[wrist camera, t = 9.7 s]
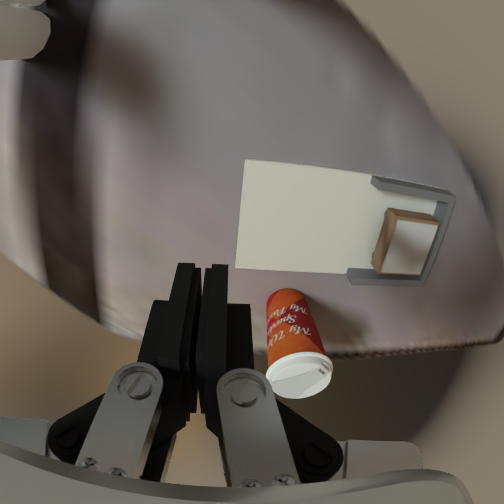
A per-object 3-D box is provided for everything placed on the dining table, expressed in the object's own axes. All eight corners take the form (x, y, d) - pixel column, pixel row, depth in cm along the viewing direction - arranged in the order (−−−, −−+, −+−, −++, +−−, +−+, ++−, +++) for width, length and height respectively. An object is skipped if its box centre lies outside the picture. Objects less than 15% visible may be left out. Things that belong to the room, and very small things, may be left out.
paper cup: (293, 272, 42) (313, 351, 30) (321, 305, 45) (346, 381, 33) (247, 302, 44) (251, 383, 32) (278, 331, 47) (290, 408, 35)
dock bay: (245, 158, 34) (245, 165, 31) (444, 188, 36) (456, 196, 34) (235, 265, 41) (235, 279, 38) (414, 274, 43) (423, 286, 41)
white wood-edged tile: (384, 204, 37) (396, 216, 33) (426, 211, 37) (441, 223, 34) (367, 258, 41) (377, 274, 37) (409, 261, 41) (420, 276, 38)
